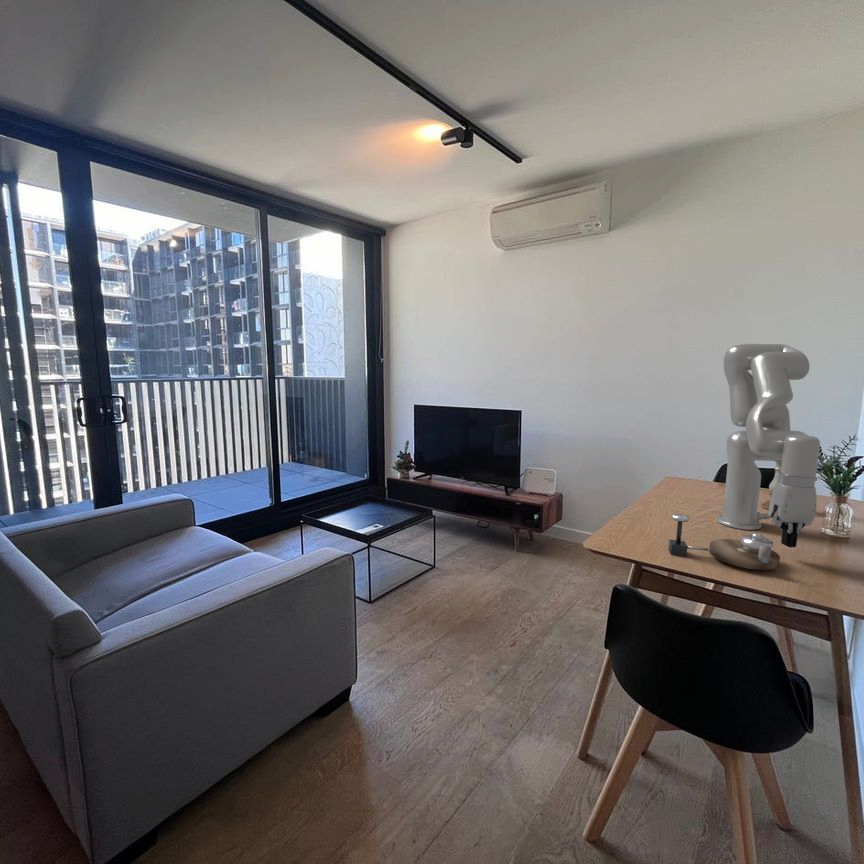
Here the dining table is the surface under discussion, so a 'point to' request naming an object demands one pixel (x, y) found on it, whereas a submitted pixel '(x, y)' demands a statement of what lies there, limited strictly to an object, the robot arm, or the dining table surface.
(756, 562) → the turntable
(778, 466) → the candle holder
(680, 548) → the lever with ball knob
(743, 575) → the dining table surface
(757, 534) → the lid
